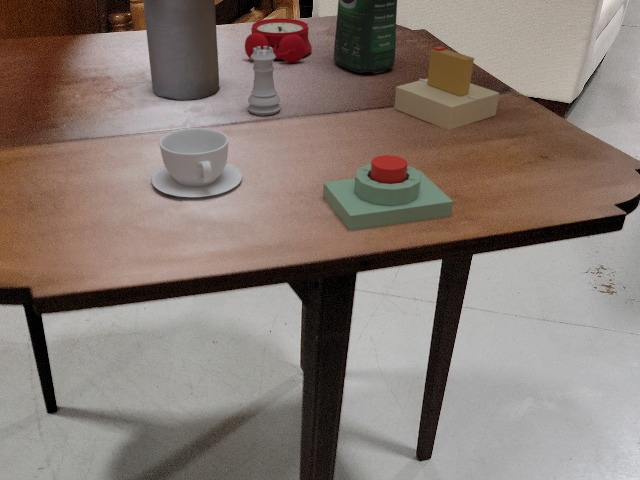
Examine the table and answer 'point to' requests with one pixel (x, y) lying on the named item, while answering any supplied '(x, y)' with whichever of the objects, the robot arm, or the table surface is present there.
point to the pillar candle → (182, 47)
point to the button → (388, 169)
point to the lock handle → (450, 71)
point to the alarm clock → (280, 38)
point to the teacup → (195, 164)
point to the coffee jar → (366, 35)
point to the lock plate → (445, 104)
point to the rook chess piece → (263, 84)
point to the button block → (385, 200)
